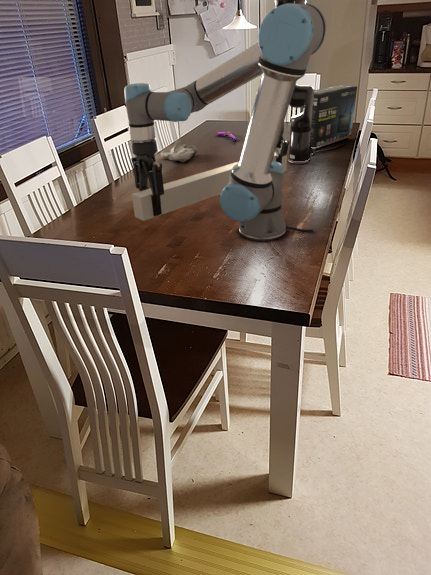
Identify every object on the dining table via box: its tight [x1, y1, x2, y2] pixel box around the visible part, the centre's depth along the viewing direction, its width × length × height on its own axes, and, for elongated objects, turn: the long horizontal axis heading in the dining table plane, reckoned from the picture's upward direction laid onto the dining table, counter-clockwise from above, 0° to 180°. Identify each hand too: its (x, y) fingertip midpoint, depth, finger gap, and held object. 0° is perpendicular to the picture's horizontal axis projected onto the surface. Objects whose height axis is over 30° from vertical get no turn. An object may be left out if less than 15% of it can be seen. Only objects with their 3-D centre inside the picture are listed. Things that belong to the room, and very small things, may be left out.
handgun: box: [216, 130, 237, 143], centre depth 261 cm, size 21×8×2 cm, turn 11°
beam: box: [131, 152, 288, 222], centre depth 164 cm, size 69×5×8 cm, turn 132°
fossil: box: [160, 142, 199, 163], centre depth 229 cm, size 18×11×15 cm
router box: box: [299, 84, 358, 147], centre depth 238 cm, size 36×11×27 cm, turn 134°
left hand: (152, 212), depth 150 cm, fingers closed on beam, 5 cm apart
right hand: (273, 164), depth 181 cm, fingers closed on beam, 5 cm apart
